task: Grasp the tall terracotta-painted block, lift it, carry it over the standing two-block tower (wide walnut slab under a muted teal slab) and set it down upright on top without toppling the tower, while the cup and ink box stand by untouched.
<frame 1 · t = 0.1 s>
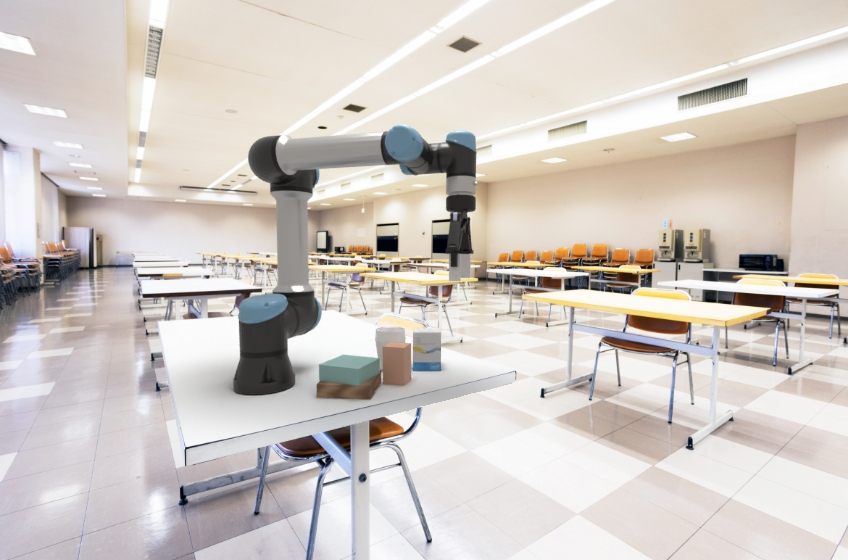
hand: (460, 279, 105), 28 cm above the table, fingers open, 13 cm apart
block top: (350, 376, 104), point 3 cm above the table
block bottom: (350, 392, 104), on the table
tall block: (397, 381, 111), on the table
ink box: (426, 367, 125), on the table
cup: (390, 369, 123), on the table
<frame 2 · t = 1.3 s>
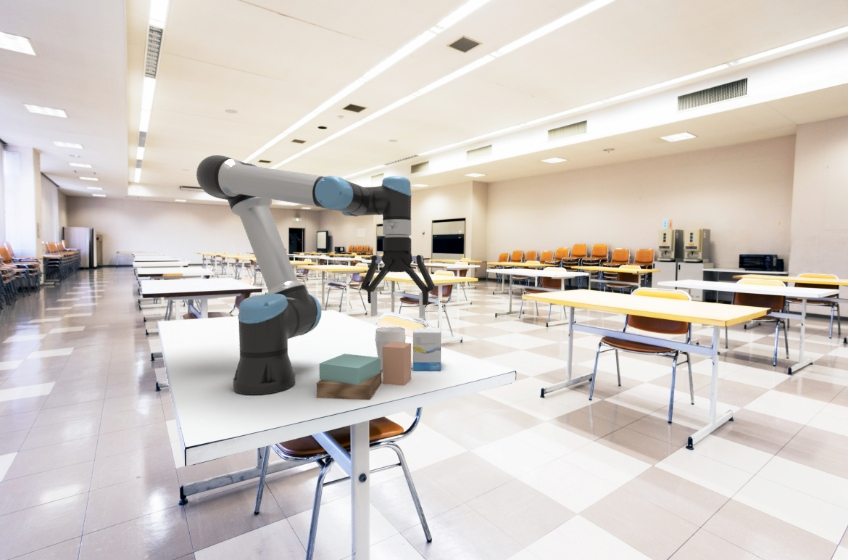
hand: (397, 316, 110), 18 cm above the table, fingers open, 13 cm apart
nothing on the table moved.
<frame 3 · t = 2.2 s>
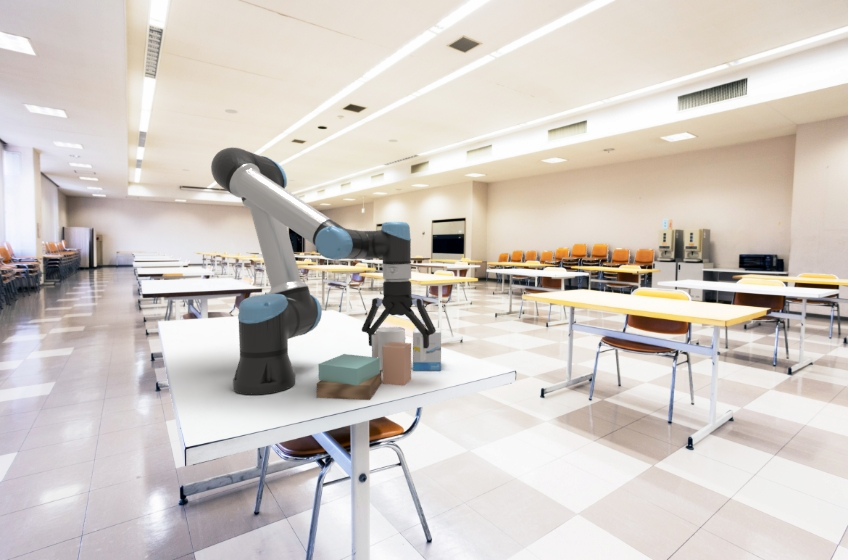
hand: (398, 359, 111), 6 cm above the table, fingers open, 13 cm apart
block top: (350, 376, 104), point 3 cm above the table, touching block bottom
block bottom: (350, 392, 104), on the table, touching block top
everything else where it was.
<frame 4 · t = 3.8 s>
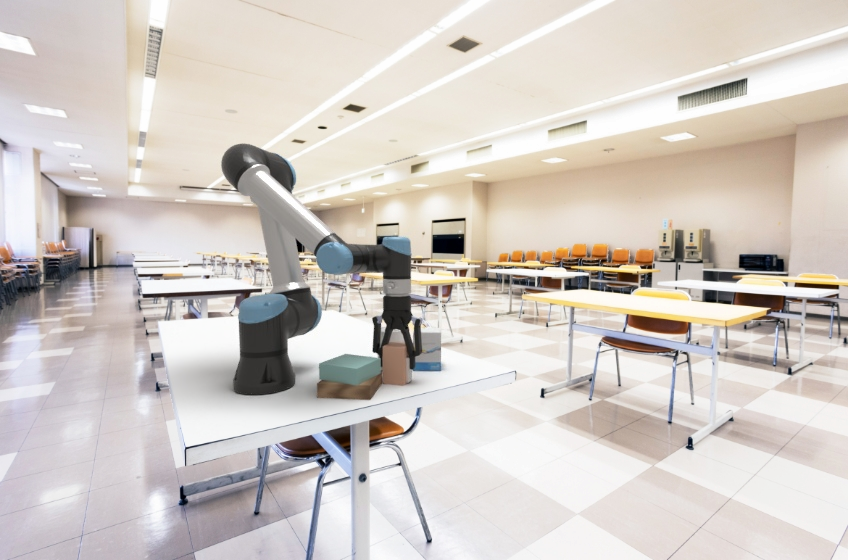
hand: (397, 379, 111), 0 cm above the table, fingers closed on tall block, 6 cm apart
tall block: (397, 381, 111), on the table, touching gripper
everything else where it was.
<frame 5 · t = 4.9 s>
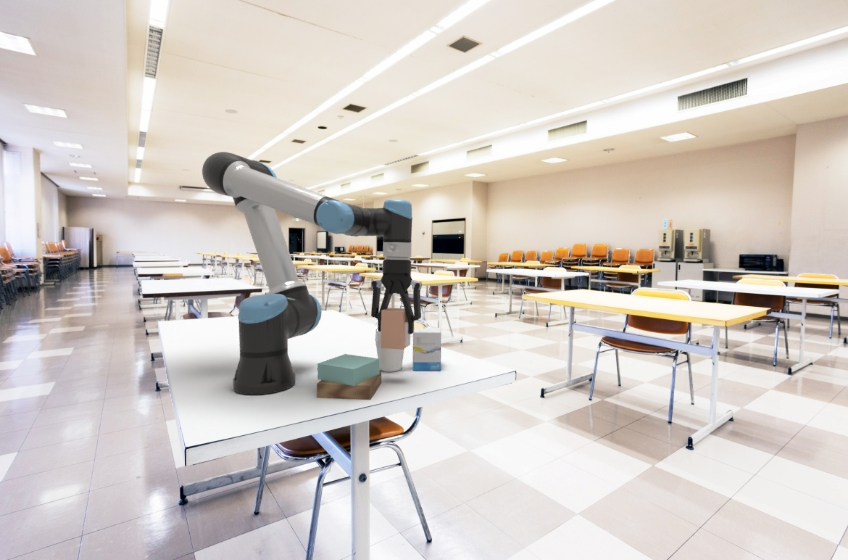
hand: (395, 344, 111), 10 cm above the table, fingers closed on tall block, 6 cm apart
tall block: (395, 346, 111), point 10 cm above the table, touching gripper
everything else where it was.
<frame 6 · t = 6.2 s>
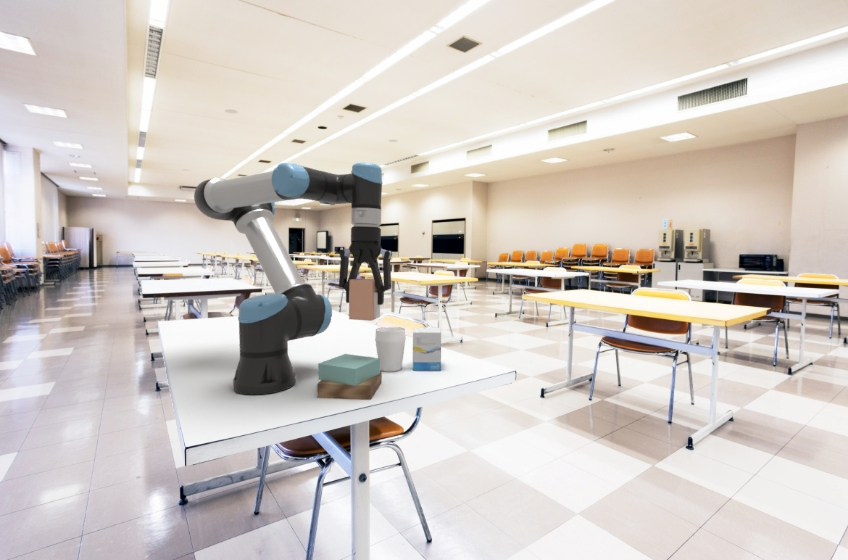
hand: (364, 316, 106), 18 cm above the table, fingers closed on tall block, 6 cm apart
block top: (350, 376, 104), point 3 cm above the table
block bottom: (351, 392, 104), on the table
tall block: (364, 318, 106), point 18 cm above the table, touching gripper
everything else where it was.
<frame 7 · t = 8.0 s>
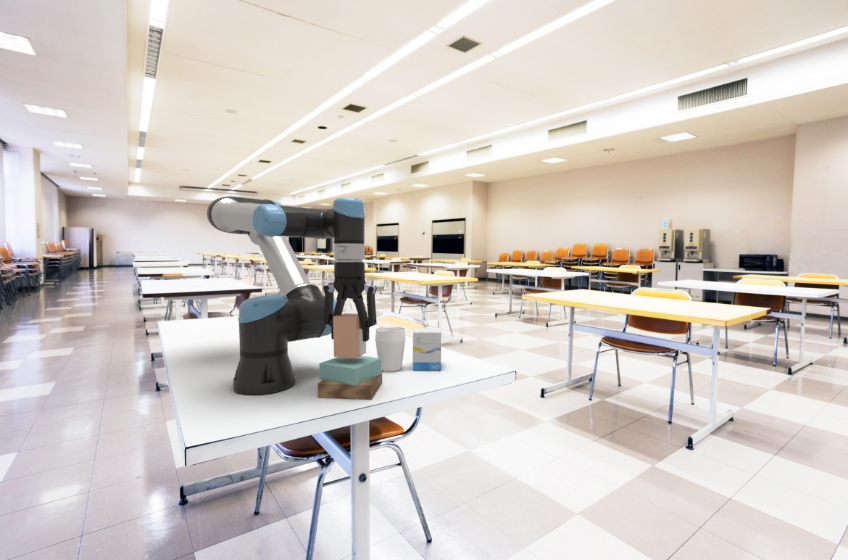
hand: (350, 352, 103), 9 cm above the table, fingers closed on tall block, 6 cm apart
block top: (351, 376, 104), point 3 cm above the table, touching block bottom
block bottom: (351, 392, 104), on the table, touching block top
tall block: (350, 354, 103), point 9 cm above the table, touching gripper
everything else where it was.
when the fingers open (9 cm above the table, at t = 9.0 s): tall block drops 1 cm, point 7 cm above the table.
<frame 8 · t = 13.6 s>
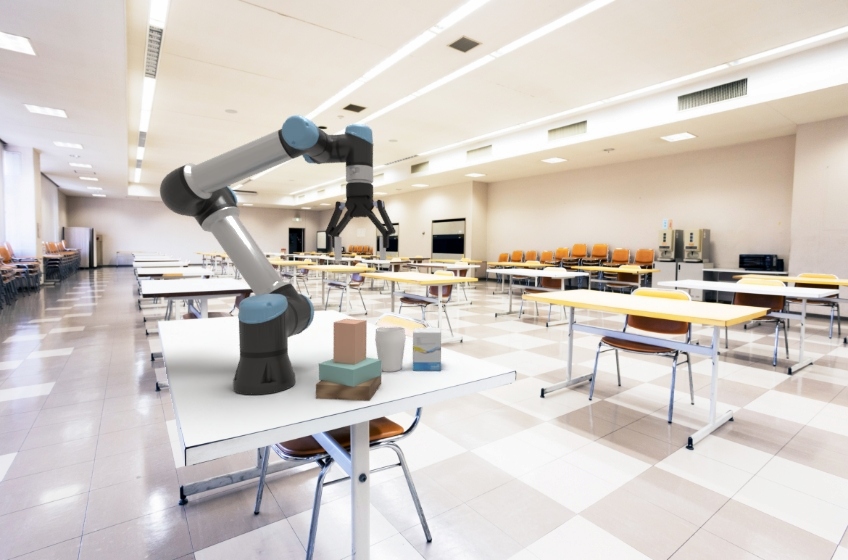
hand: (360, 260, 115), 33 cm above the table, fingers open, 13 cm apart
block top: (350, 377, 103), point 3 cm above the table
block bottom: (350, 393, 103), on the table
tall block: (350, 360, 104), point 7 cm above the table
everything else where it was.
at the end: tall block inside the target area on the block top (0.9 cm from its centre), point 4.1 cm above the block top's base; tall block tilted 1°; block top tilted 0° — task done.
